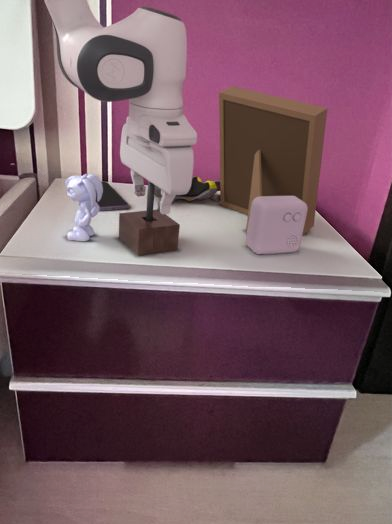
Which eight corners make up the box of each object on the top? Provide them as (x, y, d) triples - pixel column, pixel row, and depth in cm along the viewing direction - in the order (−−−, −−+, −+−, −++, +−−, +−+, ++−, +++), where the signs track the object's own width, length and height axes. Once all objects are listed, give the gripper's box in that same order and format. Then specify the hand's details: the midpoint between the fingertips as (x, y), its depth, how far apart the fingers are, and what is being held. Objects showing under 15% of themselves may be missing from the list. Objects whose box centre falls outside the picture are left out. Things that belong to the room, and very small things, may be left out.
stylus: (146, 246, 104) (150, 170, 96) (143, 243, 105) (147, 168, 97) (152, 245, 105) (157, 169, 97) (149, 242, 105) (153, 167, 98)
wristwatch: (233, 181, 132) (213, 175, 133) (223, 194, 128) (203, 188, 129) (231, 194, 134) (212, 188, 135) (222, 207, 130) (202, 201, 132)
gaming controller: (216, 208, 126) (207, 193, 134) (219, 183, 123) (210, 170, 131) (150, 205, 123) (144, 190, 131) (151, 180, 120) (146, 167, 128)
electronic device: (255, 257, 105) (264, 205, 99) (244, 247, 108) (252, 196, 103) (301, 254, 108) (312, 203, 103) (289, 244, 112) (299, 195, 107)
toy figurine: (72, 227, 108) (71, 164, 101) (104, 232, 107) (105, 169, 101) (59, 240, 102) (57, 174, 95) (93, 246, 101) (93, 180, 95)
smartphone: (97, 207, 116) (75, 182, 127) (97, 212, 117) (75, 187, 127) (130, 205, 119) (106, 181, 130) (129, 210, 120) (106, 185, 130)
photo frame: (231, 201, 131) (247, 84, 117) (312, 230, 120) (341, 106, 107) (191, 214, 121) (204, 88, 107) (276, 247, 110) (302, 112, 96)
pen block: (137, 256, 100) (139, 229, 97) (118, 238, 106) (119, 213, 103) (177, 250, 104) (179, 224, 101) (156, 233, 110) (158, 209, 107)
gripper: (112, 109, 99) (110, 186, 106) (168, 138, 85) (162, 225, 92) (144, 108, 102) (140, 184, 109) (203, 137, 88) (194, 221, 95)
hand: (151, 203), depth 101 cm, fingers open, 8 cm apart
